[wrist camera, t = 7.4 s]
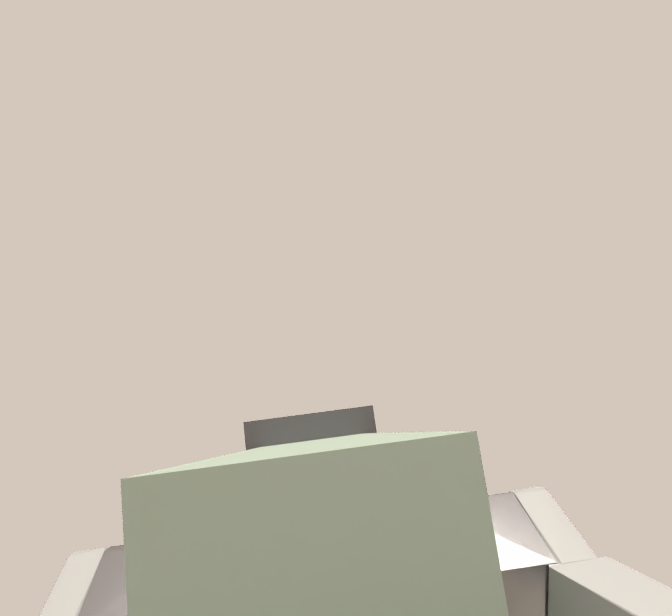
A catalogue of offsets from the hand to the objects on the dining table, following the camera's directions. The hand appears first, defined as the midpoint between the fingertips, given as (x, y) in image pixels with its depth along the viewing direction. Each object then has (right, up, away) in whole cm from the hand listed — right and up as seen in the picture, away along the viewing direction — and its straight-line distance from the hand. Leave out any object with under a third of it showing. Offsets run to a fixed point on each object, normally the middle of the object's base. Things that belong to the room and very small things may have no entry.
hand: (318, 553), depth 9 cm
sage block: (0, -4, +7) cm, 8 cm away
